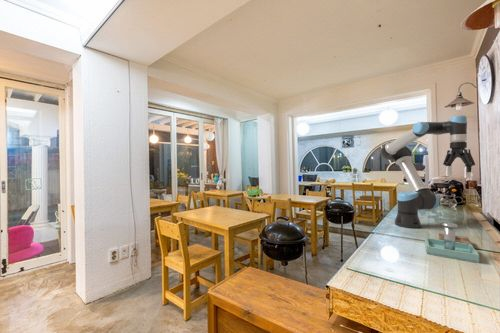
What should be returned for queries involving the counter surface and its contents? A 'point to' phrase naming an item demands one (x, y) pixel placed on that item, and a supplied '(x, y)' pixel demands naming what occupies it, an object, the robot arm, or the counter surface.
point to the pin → (449, 235)
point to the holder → (458, 239)
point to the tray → (460, 253)
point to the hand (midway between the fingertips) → (457, 177)
